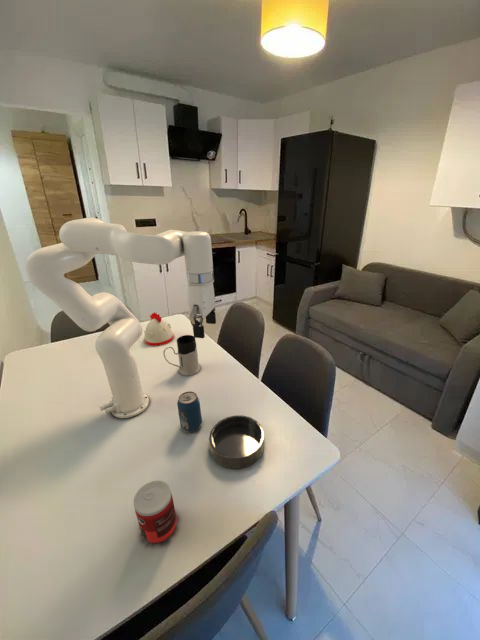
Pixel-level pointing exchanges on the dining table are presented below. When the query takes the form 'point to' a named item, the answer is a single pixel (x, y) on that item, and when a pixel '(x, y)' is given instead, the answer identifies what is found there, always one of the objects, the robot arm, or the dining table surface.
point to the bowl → (236, 441)
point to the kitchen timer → (157, 331)
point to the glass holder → (186, 355)
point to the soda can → (189, 411)
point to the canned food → (155, 511)
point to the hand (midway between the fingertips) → (205, 330)
